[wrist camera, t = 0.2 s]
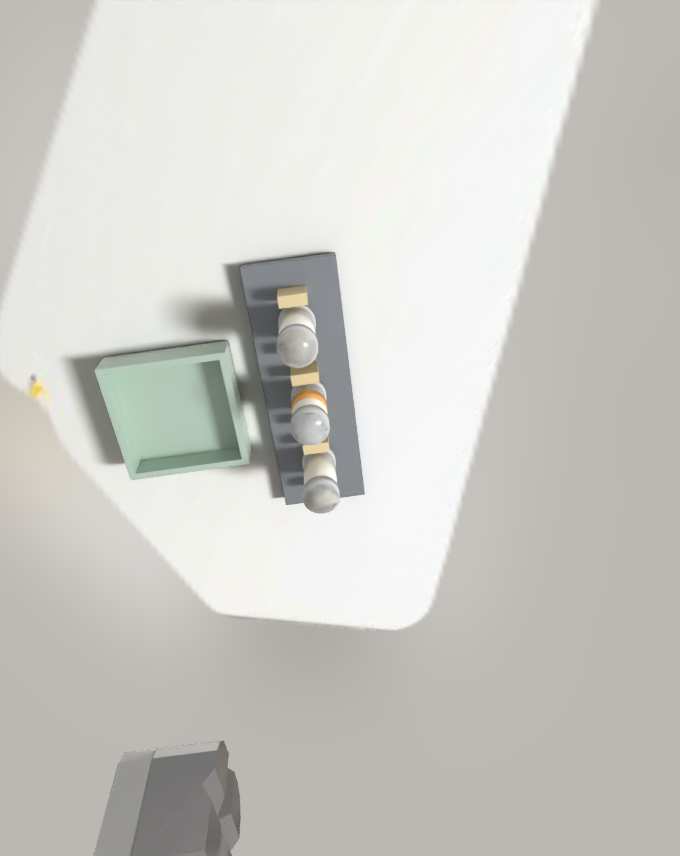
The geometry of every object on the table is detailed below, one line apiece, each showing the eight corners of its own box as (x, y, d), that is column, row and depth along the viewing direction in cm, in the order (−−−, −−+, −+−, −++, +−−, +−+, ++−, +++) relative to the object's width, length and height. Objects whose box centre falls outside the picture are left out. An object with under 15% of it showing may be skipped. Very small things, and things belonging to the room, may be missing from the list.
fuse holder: (240, 265, 53) (237, 275, 50) (334, 252, 53) (337, 262, 50) (286, 498, 64) (285, 519, 61) (363, 487, 64) (367, 508, 61)
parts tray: (103, 357, 56) (94, 370, 53) (228, 340, 56) (224, 352, 53) (137, 463, 61) (130, 480, 58) (251, 447, 61) (249, 463, 58)
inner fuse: (275, 304, 53) (273, 331, 47) (312, 299, 53) (315, 325, 47) (281, 339, 55) (280, 370, 49) (317, 334, 55) (320, 365, 49)
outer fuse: (299, 445, 60) (300, 485, 54) (333, 441, 60) (337, 480, 54) (304, 473, 61) (306, 515, 55) (336, 469, 61) (341, 510, 55)
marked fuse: (288, 379, 57) (287, 413, 50) (323, 374, 57) (327, 408, 50) (293, 410, 58) (293, 447, 52) (327, 405, 58) (332, 442, 52)
